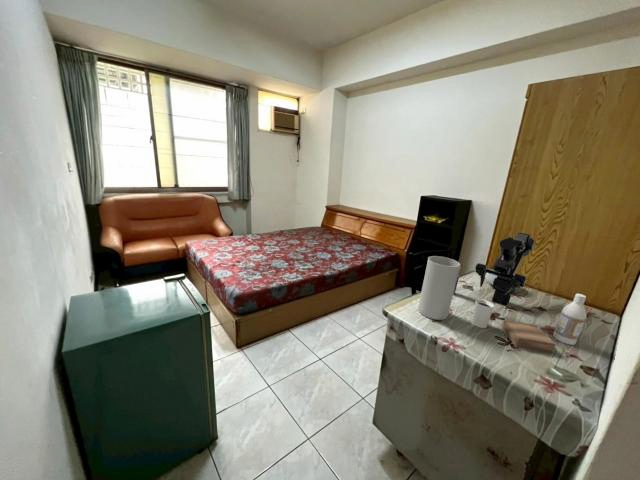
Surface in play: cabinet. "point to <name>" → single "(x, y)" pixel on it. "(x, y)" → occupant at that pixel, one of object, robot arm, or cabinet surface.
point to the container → (457, 280)
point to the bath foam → (571, 321)
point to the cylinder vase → (438, 287)
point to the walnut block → (528, 336)
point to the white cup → (482, 313)
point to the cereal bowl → (490, 277)
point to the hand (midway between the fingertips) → (492, 290)
